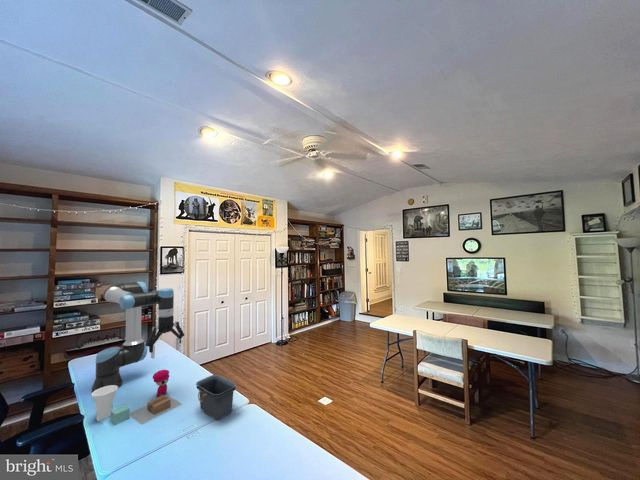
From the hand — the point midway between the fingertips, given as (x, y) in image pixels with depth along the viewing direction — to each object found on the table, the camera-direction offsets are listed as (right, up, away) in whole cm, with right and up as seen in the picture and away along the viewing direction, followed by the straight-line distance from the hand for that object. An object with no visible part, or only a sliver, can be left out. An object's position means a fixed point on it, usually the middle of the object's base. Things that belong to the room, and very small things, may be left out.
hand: (165, 353), depth 146 cm
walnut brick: (+2, -25, -9) cm, 27 cm away
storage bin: (+32, -26, -11) cm, 43 cm away
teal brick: (-13, -26, -17) cm, 34 cm away
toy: (-5, -27, +4) cm, 28 cm away
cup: (-23, -27, -14) cm, 38 cm away
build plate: (0, -26, -9) cm, 28 cm away
